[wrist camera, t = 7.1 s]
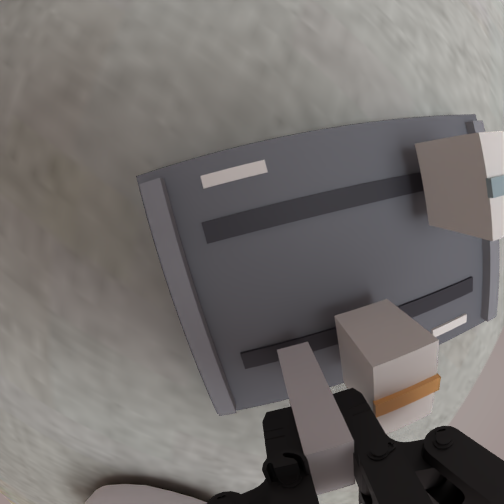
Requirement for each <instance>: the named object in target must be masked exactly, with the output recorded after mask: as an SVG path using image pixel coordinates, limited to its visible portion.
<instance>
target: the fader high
mask: <svg viewBox="0 0 504 504" xmlns="http://www.w3.org/2000/svg"><path fill="white" fill-rule="evenodd" d="M415 148H416V152H417V157H418V161H419V166H420V171H421V177H422V182H423V188H424V194H425V200H426V207H427V214H428V222H429V225H430V226H434V227H439V228H443V229H447V230H451V231H455V232H459V233H463V234H467V235H470V236H474V237H478V238H482V239H485V240H489V241H495V240H498V239H500V238H503V237H504V131H494V132H478V133H472V134H466V135H460V136H454V137H448V138H443V139H437V140H432V141H427V142H421V143H416V144H415Z"/></svg>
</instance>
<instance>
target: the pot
mask: <svg viewBox="0 0 504 504" xmlns="http://www.w3.org/2000/svg"><path fill="white" fill-rule="evenodd" d="M84 504H207V502H204V501H202V500H199V499H196V498H194V497H190V496H187V495H183V494H180V493H176V492H173V491H169V490H164V489H160V488H155V487H151V486H147V485H135V484H117V485H106V486H102V487H101V488H99V489H97V490H95V491H94V493H93V494H92V495H91V496H90V497H89V498H88V500H87V501H86V502H85V503H84Z"/></svg>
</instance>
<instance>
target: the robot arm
mask: <svg viewBox="0 0 504 504" xmlns="http://www.w3.org/2000/svg"><path fill="white" fill-rule="evenodd" d="M277 353H278V357H279V361H280V365H281V369H282V373H283V377H284V381H285V385H286V389H287V393H288V397H289V401H290V405H291V407H287V408H283V409H279V410H274V411H270V412H266V415H265V417H264V419H263V422H262V423H263V430H264V438H265V446H266V453H267V459H266V461H265V462H264V463H263V468H262V471H263V473H264V476H265V478H266V479H265V481H264V482H263V483H262V484H261V485H260V486H258V487H256V488H255V489H253V490H250V491H248V492H246V493H243V494H239V493H236V492H232V491H229V492H222V493H219V494H216V495H215V496H213V497H212V498H211V499H209V501H208V502H207V504H319V501H318V498H317V495H319V494H323V493H326V492H330V491H333V490H337V489H340V488H343V487H346V486H350V485H353V484H355V479H356V482H357V484H358V487H359V504H361V503H362V504H504V461H503V460H502V459H500V458H499V457H497V456H496V455H494V454H493V453H491V452H490V451H488V450H487V449H485V448H484V447H482V446H481V445H479V444H478V443H477V442H475V441H474V440H472V439H471V438H469V437H468V436H466V435H465V434H463V433H462V432H460V431H459V430H458V429H456V428H454V427H451V426H441V427H437V428H435V429H433V430H431V431H430V432H429V433H428V434H427V435H426V437H425V439H423V440H418V441H412V442H398V441H395V440H393V439H391V438H389V437H388V436H387V434H386V433H385V431H384V430H383V428H382V426H381V425H380V423H379V421H378V420H377V418H376V416H375V414H374V413H373V411H372V410H371V408H370V406H369V404H368V403H367V401H366V399H365V398H364V396H363V394H362V393H361V392H359V391H357V390H356V389H354V388H350V389H347V390H344V391H341V392H338V393H335V394H332V392H331V390H330V388H329V386H328V384H327V381H326V379H325V377H324V375H323V373H322V371H321V369H320V366H319V364H318V362H317V360H316V358H315V356H314V354H313V351H312V349H311V347H310V345H309V343H308V342H304V343H301V344H297V345H293V346H289V347H285V348H282V349H278V350H277Z"/></svg>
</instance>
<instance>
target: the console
mask: <svg viewBox="0 0 504 504" xmlns="http://www.w3.org/2000/svg"><path fill="white" fill-rule="evenodd" d="M478 132H485V129H484V124H483V121H477V119H476V115H475V114H471V115H444V116H427V117H414V118H403V119H393V120H383V121H375V122H367V123H359V124H352V125H345V126H339V127H332V128H326V129H320V130H315V131H309V132H304V133H298V134H293V135H288V136H283V137H278V138H274V139H269V140H264V141H260V142H256V143H251V144H247V145H243V146H239V147H235V148H231V149H227V150H223V151H219V152H215V153H211V154H208V155H204V156H200V157H197V158H193V159H190V160H186V161H183V162H180V163H176V164H173V165H170V166H167V167H163V168H160V169H157V170H154V171H151V172H148V173H145V174H142V175H139V176H136V177H137V181H138V185H139V189H140V193H141V197H142V201H143V205H144V208H145V212H146V216H147V219H148V223H149V226H150V230H151V233H152V237H153V240H154V244H155V247H156V250H157V254H158V257H159V260H160V263H161V267H162V270H163V273H164V276H165V279H166V282H167V285H168V288H169V291H170V294H171V297H172V300H173V303H174V306H175V309H176V311H177V314H178V317H179V320H180V323H181V325H182V328H183V331H184V334H185V336H186V339H187V342H188V344H189V347H190V349H191V352H192V355H193V357H194V360H195V362H196V365H197V367H198V370H199V372H200V375H201V377H202V379H203V382H204V384H205V387H206V389H207V391H208V394H209V396H210V398H211V401H212V403H213V405H214V408H215V410H216V412H217V414H219V416H222V415H227V414H233V413H236V410H242V409H247V408H251V407H256V406H261V405H265V404H269V403H274V402H278V401H282V400H286V399H289V397H288V393H287V389H286V385H285V381H284V377H283V373H282V369H281V365H280V361H279V357H278V353H277V350H278V349H282V348H285V347H289V346H293V345H297V344H301V343H304V342H308V343H309V345H310V347H311V349H312V351H313V354H314V356H315V358H316V360H317V362H318V364H319V366H320V369H321V371H322V373H323V375H324V377H325V379H326V381H327V384H328V386H329V387H332V386H335V385H338V384H341V383H344V381H343V374H342V366H341V358H340V351H339V344H338V337H337V330H336V324H335V317H334V316H335V315H338V314H342V313H345V312H348V311H351V310H354V309H358V308H361V307H364V306H367V305H370V304H373V303H376V302H379V301H382V300H385V299H388V300H389V301H390V302H392V303H393V304H394V305H396V306H397V307H398V308H400V309H401V310H402V311H403V312H405V313H406V314H407V315H408V316H410V317H411V318H412V319H414V320H415V321H416V322H417V323H419V324H420V325H421V326H422V327H424V328H425V329H426V330H427V331H429V332H430V333H431V334H432V335H434V336H435V337H436V338H437V339H439V344H441V343H444V342H446V341H448V340H450V339H452V338H454V337H456V336H458V335H460V334H462V333H464V332H465V331H467V330H469V329H471V328H473V327H475V326H477V325H478V324H480V323H482V322H484V321H487V322H488V321H489V320H491V319H493V318H495V317H496V315H497V304H498V289H499V239H498V240H495V241H489V240H485V239H482V238H478V237H474V236H470V235H467V234H463V233H459V232H455V231H451V230H447V229H443V228H439V227H434V226H430V225H429V222H428V214H427V207H426V200H425V194H424V188H423V182H422V177H421V171H420V166H419V161H418V157H417V152H416V148H415V144H416V143H421V142H427V141H432V140H437V139H443V138H448V137H454V136H460V135H466V134H472V133H478Z"/></svg>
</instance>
